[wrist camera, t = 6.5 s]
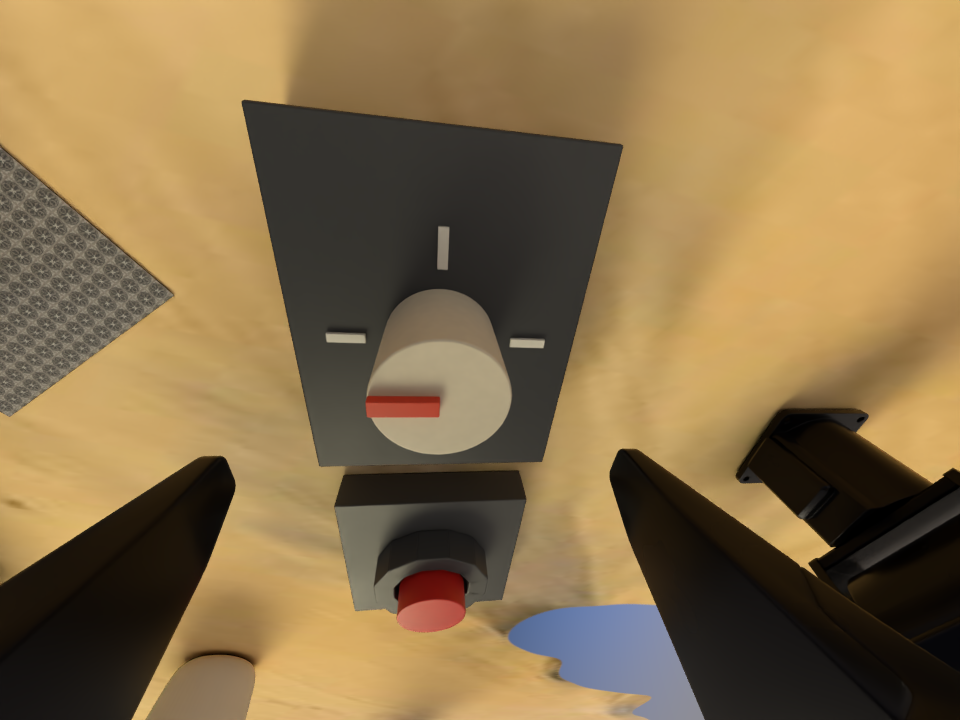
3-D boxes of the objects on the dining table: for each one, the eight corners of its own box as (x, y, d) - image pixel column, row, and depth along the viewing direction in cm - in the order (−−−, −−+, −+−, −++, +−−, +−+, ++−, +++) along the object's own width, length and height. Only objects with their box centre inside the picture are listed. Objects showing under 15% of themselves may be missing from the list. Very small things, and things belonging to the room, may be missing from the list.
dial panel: (588, 146, 13) (627, 144, 10) (529, 423, 20) (543, 464, 17) (282, 111, 12) (236, 98, 9) (334, 424, 19) (317, 470, 16)
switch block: (519, 470, 22) (534, 527, 19) (497, 570, 28) (506, 627, 25) (343, 474, 21) (324, 537, 17) (360, 579, 27) (349, 641, 23)
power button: (465, 565, 21) (468, 597, 19) (461, 598, 23) (463, 629, 21) (398, 569, 20) (395, 602, 19) (400, 603, 22) (397, 635, 21)
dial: (499, 291, 12) (524, 347, 9) (487, 384, 15) (504, 461, 11) (381, 285, 12) (357, 342, 8) (387, 383, 14) (369, 464, 10)
